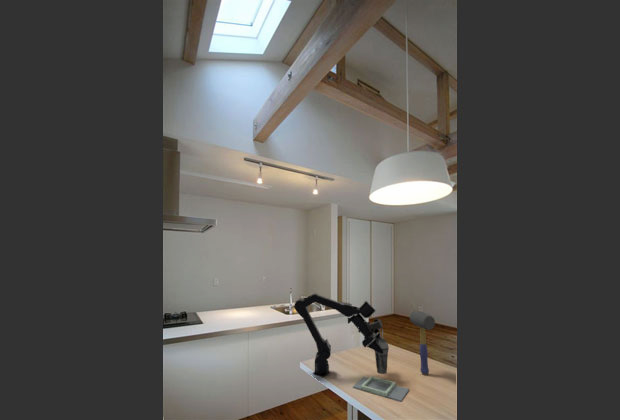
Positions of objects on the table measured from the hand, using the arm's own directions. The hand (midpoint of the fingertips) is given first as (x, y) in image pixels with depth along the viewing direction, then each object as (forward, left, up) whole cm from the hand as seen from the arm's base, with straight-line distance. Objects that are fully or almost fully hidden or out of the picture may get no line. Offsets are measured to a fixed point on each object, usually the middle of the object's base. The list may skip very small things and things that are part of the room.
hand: (384, 350), depth 141 cm
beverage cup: (-1, 0, -10) cm, 10 cm away
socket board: (+2, -10, -13) cm, 17 cm away
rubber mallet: (+15, +17, -13) cm, 26 cm away
